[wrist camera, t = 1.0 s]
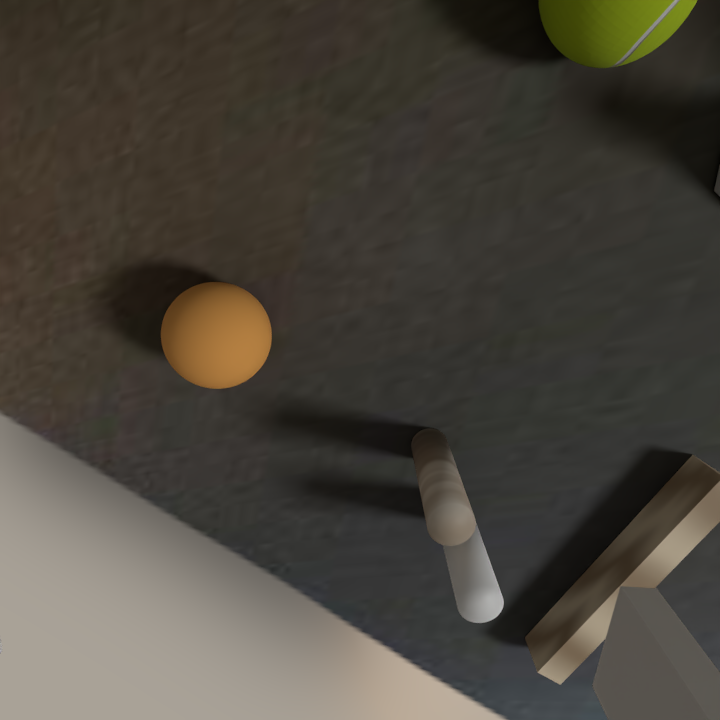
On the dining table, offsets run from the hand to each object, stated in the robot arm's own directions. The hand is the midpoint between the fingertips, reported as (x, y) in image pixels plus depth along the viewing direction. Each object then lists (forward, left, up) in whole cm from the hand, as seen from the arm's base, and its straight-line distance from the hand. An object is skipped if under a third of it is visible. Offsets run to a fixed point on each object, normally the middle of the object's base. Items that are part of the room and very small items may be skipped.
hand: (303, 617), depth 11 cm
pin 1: (+8, +2, -22) cm, 24 cm away
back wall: (+22, +10, -22) cm, 33 cm away
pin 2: (+13, +1, -22) cm, 26 cm away
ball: (-5, -6, -19) cm, 21 cm away
